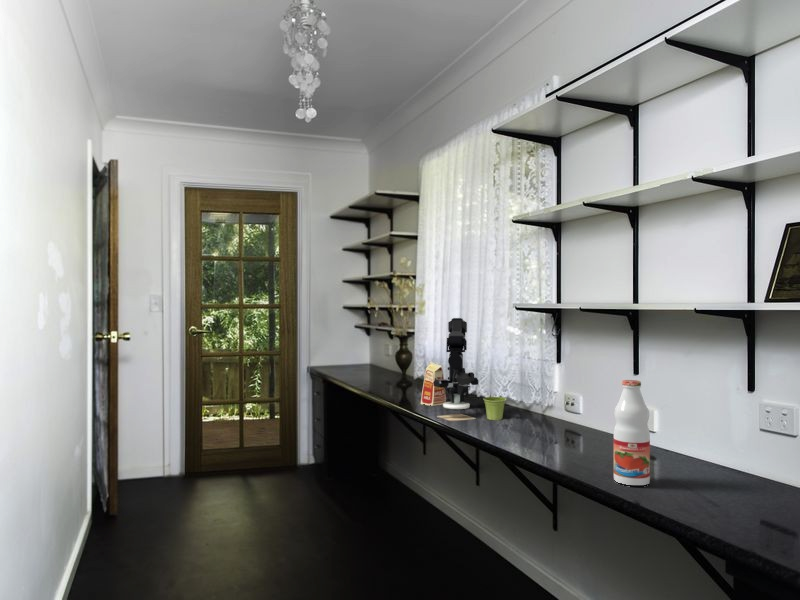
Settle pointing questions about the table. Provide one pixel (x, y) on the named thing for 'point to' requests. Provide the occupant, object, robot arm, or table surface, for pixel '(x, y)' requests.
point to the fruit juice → (631, 437)
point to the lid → (456, 403)
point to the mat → (456, 417)
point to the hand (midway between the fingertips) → (456, 402)
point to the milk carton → (431, 392)
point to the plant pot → (494, 407)
